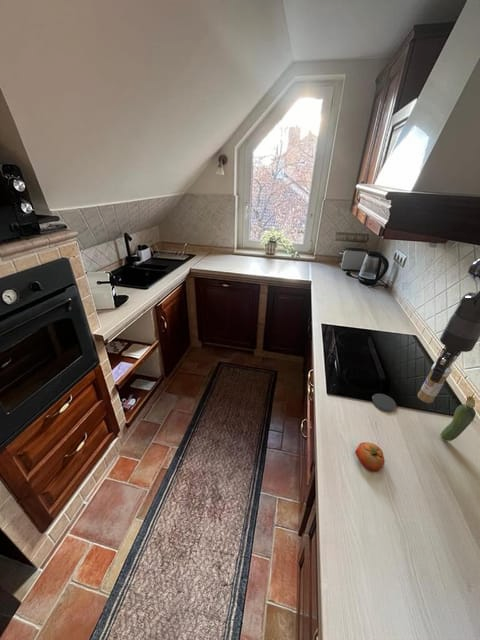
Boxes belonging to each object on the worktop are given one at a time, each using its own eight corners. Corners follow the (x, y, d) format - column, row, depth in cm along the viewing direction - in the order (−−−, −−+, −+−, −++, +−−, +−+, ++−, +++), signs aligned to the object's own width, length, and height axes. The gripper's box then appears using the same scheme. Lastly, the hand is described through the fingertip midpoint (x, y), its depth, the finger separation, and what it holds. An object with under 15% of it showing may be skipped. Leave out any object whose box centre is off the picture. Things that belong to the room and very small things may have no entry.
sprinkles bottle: (414, 392, 85) (430, 361, 78) (428, 393, 84) (446, 362, 78) (421, 403, 81) (439, 371, 74) (436, 404, 80) (455, 372, 74)
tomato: (360, 470, 71) (363, 443, 73) (349, 461, 78) (352, 436, 79) (388, 477, 71) (391, 450, 72) (375, 467, 78) (378, 443, 79)
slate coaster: (388, 394, 98) (388, 393, 98) (400, 411, 91) (400, 410, 91) (368, 395, 98) (368, 393, 97) (378, 412, 91) (379, 410, 91)
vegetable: (453, 439, 82) (484, 395, 72) (454, 450, 79) (488, 406, 69) (436, 433, 84) (465, 389, 74) (437, 443, 81) (467, 399, 71)
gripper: (472, 346, 63) (443, 395, 71) (486, 328, 71) (458, 374, 79) (438, 333, 68) (414, 380, 76) (454, 317, 76) (431, 361, 84)
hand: (437, 377), depth 78 cm, fingers closed on sprinkles bottle, 4 cm apart
